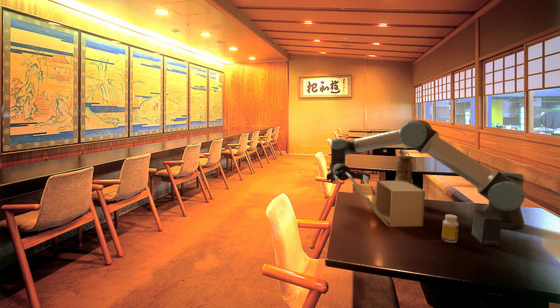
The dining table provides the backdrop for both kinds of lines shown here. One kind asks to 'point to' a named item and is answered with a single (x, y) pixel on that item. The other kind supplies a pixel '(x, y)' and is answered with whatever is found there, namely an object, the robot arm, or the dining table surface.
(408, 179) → the lantern
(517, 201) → the robot arm
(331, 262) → the dining table surface
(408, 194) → the carton
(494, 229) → the small box
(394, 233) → the dining table surface
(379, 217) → the front flap
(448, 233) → the supplement bottle
